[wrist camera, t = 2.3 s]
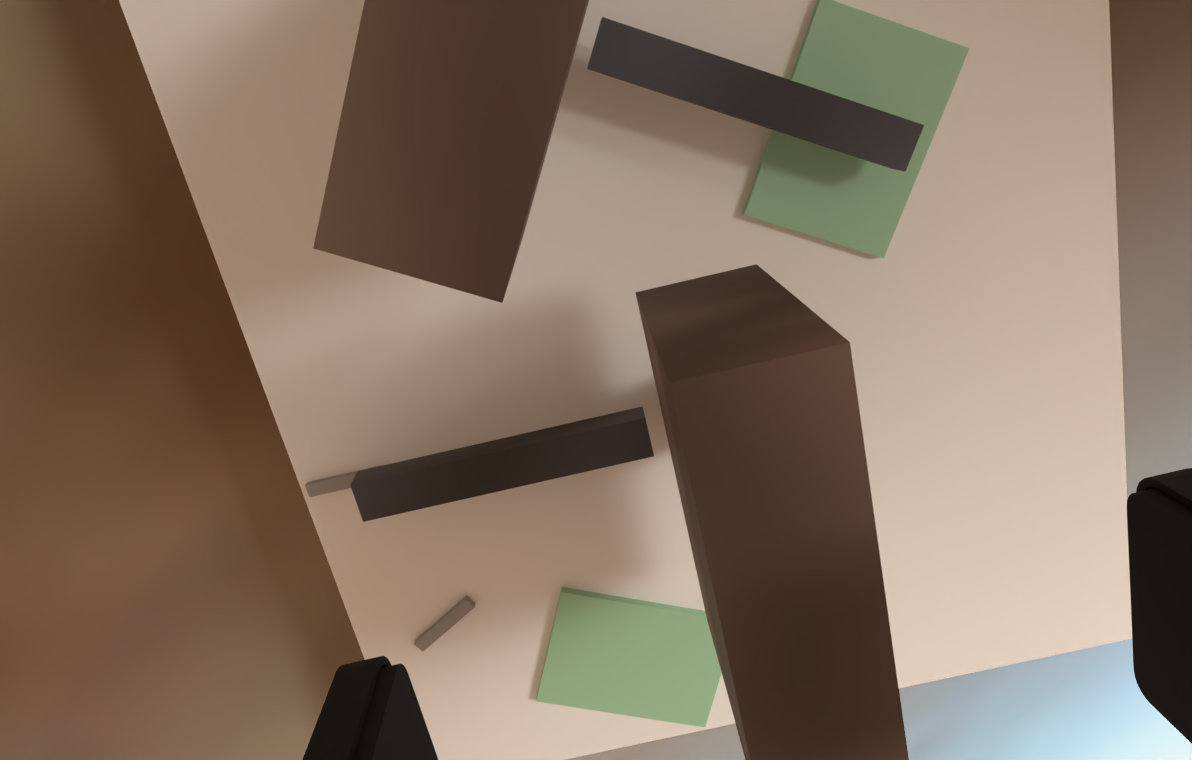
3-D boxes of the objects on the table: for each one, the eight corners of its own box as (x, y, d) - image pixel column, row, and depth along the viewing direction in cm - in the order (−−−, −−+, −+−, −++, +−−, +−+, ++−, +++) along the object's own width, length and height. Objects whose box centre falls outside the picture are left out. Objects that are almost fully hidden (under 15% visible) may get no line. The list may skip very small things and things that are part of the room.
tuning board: (1009, -320, 18) (1102, -408, 15) (1066, 576, 25) (1138, 644, 22) (144, -99, 19) (61, -139, 15) (431, 714, 25) (412, 798, 22)
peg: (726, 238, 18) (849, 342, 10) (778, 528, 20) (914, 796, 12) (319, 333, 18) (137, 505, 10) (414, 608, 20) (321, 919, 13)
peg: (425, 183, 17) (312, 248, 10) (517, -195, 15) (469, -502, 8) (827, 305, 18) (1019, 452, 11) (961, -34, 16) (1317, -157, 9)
